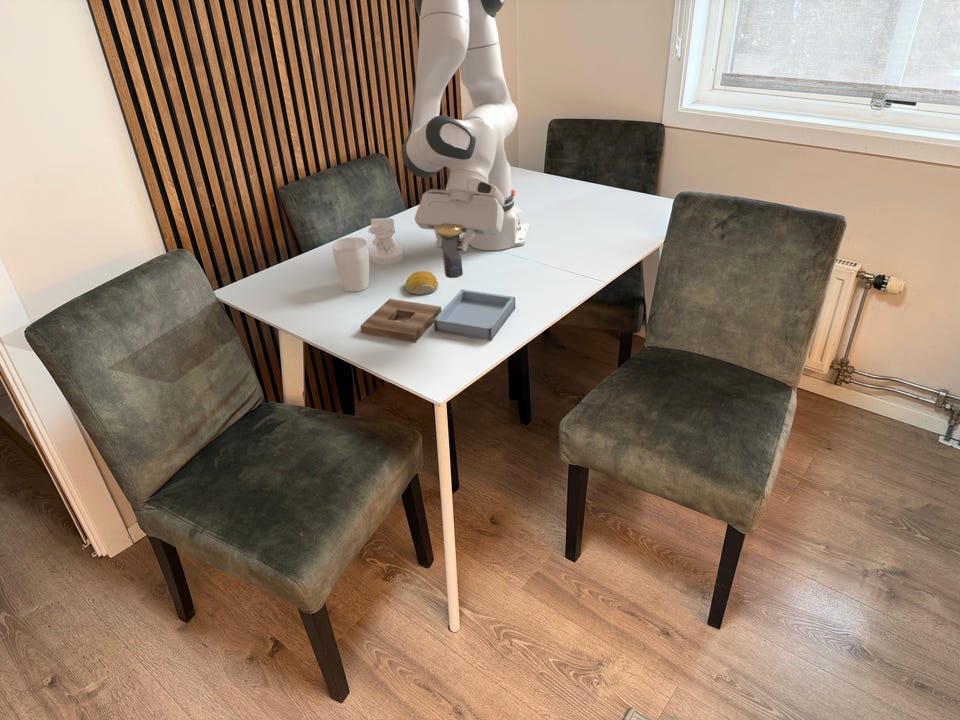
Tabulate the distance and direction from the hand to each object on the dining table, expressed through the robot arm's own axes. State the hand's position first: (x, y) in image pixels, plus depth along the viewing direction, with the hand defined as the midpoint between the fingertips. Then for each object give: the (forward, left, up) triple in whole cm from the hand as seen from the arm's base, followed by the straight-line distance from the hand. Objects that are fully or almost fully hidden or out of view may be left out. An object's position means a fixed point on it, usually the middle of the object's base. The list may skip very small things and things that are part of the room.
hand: (450, 249), depth 147 cm
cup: (-10, -33, -19) cm, 39 cm away
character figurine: (-29, -34, -19) cm, 48 cm away
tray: (-3, +4, -19) cm, 19 cm away
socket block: (+4, -12, -19) cm, 23 cm away
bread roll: (-14, -16, -19) cm, 29 cm away
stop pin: (-1, 0, -6) cm, 6 cm away
